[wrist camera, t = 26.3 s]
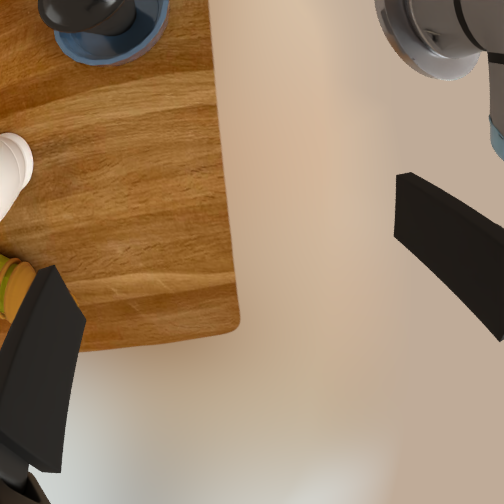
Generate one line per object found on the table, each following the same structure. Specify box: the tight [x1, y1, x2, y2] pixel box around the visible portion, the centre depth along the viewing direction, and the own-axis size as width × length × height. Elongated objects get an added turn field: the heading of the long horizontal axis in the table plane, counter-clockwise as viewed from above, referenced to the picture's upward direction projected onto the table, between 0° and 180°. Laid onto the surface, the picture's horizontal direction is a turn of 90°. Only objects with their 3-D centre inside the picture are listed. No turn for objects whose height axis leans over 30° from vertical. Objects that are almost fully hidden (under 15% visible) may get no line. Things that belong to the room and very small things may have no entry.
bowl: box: [54, 0, 170, 67], centre depth 24 cm, size 12×12×5 cm
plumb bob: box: [0, 254, 79, 323], centre depth 35 cm, size 9×9×25 cm
